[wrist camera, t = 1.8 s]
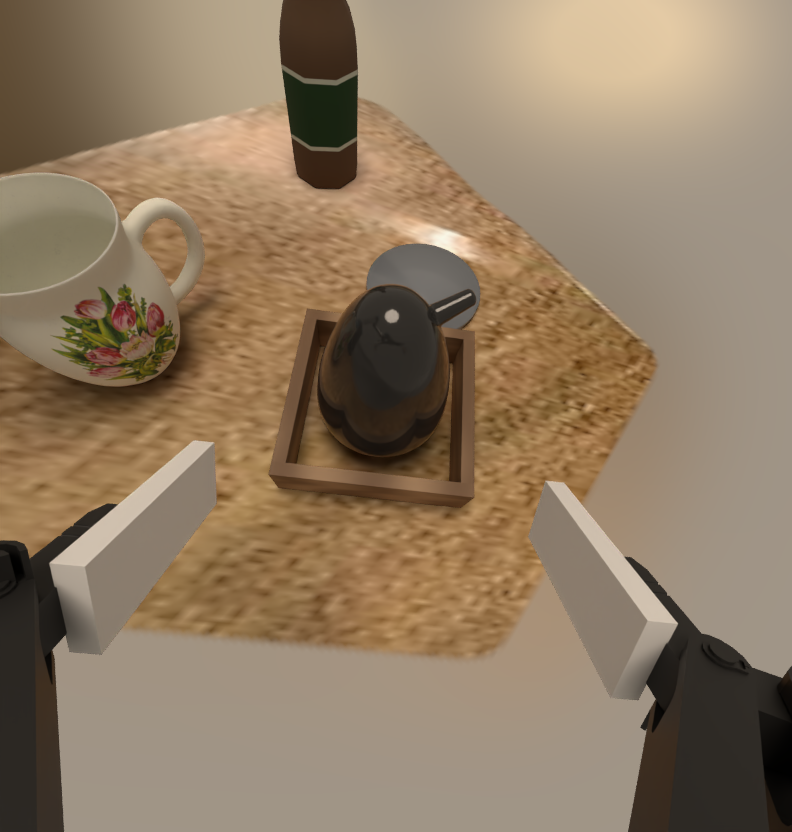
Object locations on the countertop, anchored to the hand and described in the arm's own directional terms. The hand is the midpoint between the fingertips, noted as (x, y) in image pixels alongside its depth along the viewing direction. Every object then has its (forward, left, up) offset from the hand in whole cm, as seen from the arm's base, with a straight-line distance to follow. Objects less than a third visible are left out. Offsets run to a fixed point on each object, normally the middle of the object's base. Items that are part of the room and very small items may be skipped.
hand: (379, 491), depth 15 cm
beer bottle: (-10, +43, -17) cm, 47 cm away
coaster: (+3, +26, -16) cm, 31 cm away
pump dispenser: (0, +11, -17) cm, 20 cm away
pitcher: (-22, +15, -17) cm, 31 cm away
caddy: (0, +11, -16) cm, 20 cm away
